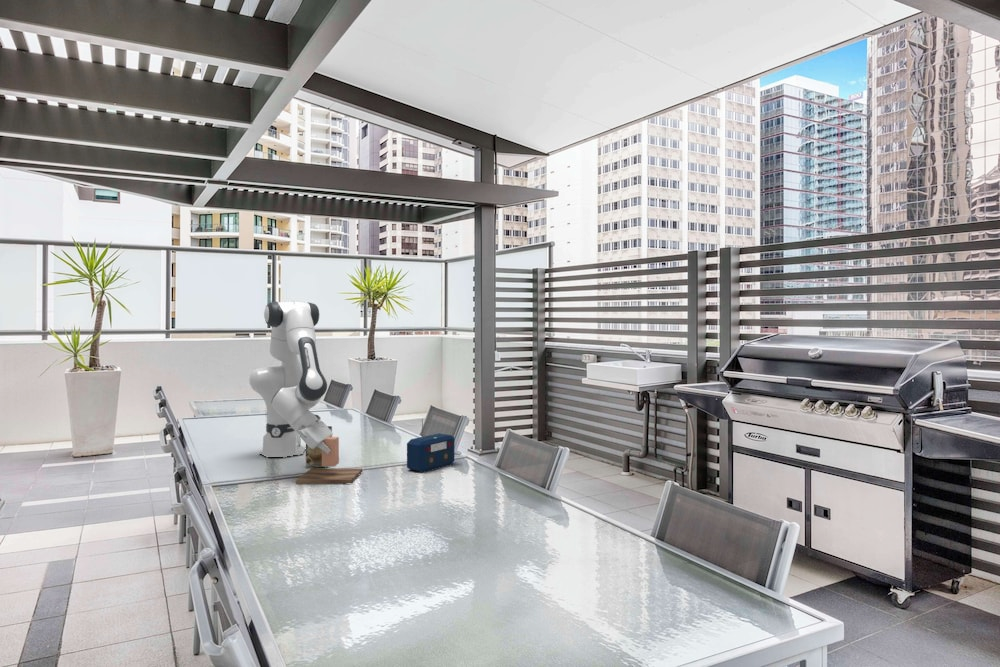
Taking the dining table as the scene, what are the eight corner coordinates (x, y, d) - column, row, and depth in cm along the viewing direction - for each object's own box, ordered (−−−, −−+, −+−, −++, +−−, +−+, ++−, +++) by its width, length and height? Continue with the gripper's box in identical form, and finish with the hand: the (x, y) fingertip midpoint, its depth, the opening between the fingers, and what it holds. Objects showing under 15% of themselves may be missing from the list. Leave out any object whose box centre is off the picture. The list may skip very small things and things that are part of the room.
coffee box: (304, 467, 257) (304, 427, 257) (311, 464, 264) (310, 425, 263) (326, 468, 256) (326, 428, 256) (332, 464, 263) (332, 425, 262)
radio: (421, 473, 247) (421, 422, 247) (405, 470, 253) (405, 420, 252) (457, 464, 264) (456, 415, 264) (441, 461, 269) (441, 413, 269)
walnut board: (311, 472, 250) (311, 468, 250) (362, 472, 250) (362, 468, 250) (295, 483, 232) (295, 479, 232) (350, 484, 232) (350, 479, 232)
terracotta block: (325, 463, 243) (325, 436, 243) (338, 463, 243) (338, 436, 243) (321, 465, 238) (321, 439, 238) (335, 466, 238) (335, 439, 238)
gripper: (302, 422, 230) (330, 449, 230) (319, 414, 250) (344, 439, 250) (290, 434, 230) (317, 462, 230) (308, 425, 251) (333, 450, 251)
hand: (332, 450), depth 240 cm, fingers closed on terracotta block, 5 cm apart
